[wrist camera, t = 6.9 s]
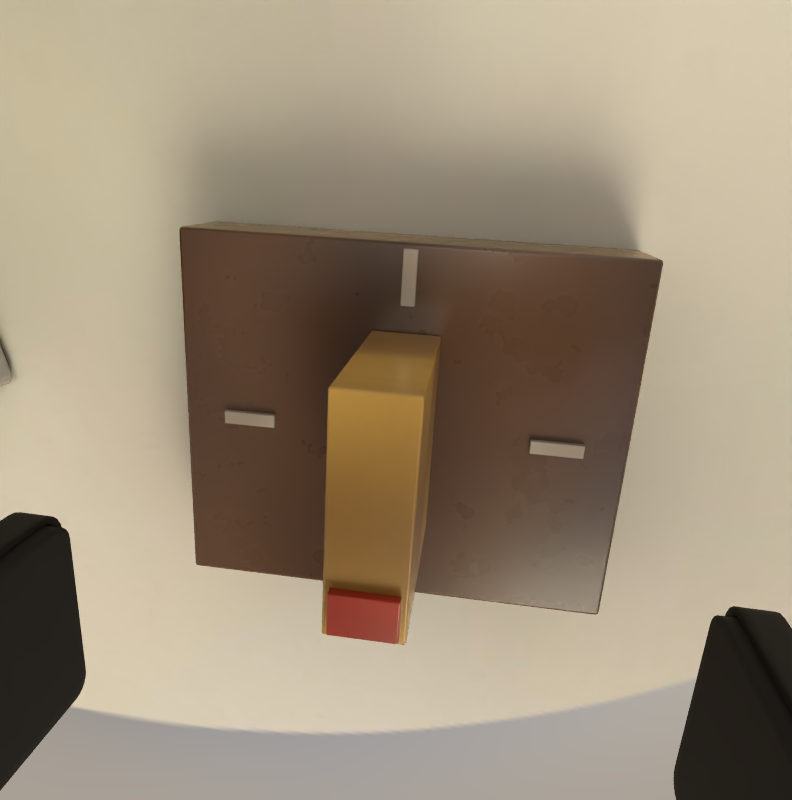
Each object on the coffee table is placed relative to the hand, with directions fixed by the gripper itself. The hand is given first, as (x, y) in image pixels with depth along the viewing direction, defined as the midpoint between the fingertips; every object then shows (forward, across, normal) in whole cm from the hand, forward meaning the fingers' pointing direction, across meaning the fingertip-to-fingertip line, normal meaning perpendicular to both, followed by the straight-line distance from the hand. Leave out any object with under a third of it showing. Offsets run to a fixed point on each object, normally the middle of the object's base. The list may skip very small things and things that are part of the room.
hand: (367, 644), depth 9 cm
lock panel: (+11, +1, 0) cm, 11 cm away
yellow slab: (+8, +1, 0) cm, 8 cm away
